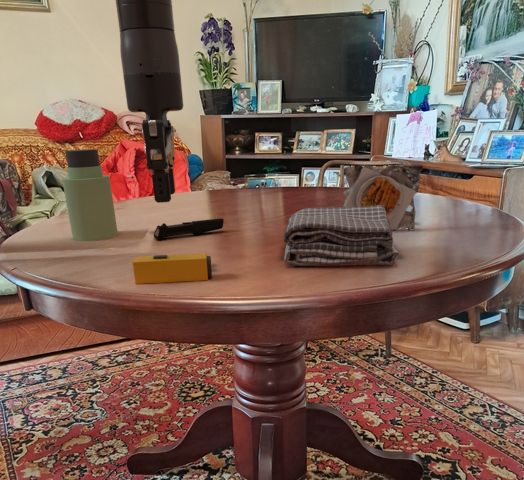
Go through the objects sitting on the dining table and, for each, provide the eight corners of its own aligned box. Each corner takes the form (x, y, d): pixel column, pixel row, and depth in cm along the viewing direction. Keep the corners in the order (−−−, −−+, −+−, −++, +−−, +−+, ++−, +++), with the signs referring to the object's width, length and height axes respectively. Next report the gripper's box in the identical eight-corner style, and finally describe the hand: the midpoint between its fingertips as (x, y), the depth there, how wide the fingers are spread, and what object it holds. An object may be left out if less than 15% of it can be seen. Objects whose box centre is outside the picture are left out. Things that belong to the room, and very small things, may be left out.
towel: (288, 247, 96) (288, 205, 93) (387, 247, 94) (390, 203, 91) (282, 269, 82) (282, 219, 79) (398, 268, 80) (402, 218, 77)
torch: (135, 284, 77) (131, 260, 76) (138, 278, 80) (135, 254, 79) (212, 280, 78) (210, 256, 76) (212, 274, 81) (210, 251, 80)
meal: (344, 234, 105) (346, 167, 100) (341, 230, 109) (343, 166, 104) (417, 232, 105) (423, 165, 100) (411, 228, 109) (417, 163, 104)
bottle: (69, 248, 102) (50, 152, 94) (79, 239, 110) (64, 149, 103) (114, 246, 102) (100, 150, 95) (122, 237, 111) (109, 148, 103)
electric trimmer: (227, 233, 112) (226, 218, 110) (158, 241, 105) (156, 225, 104) (220, 230, 115) (219, 216, 114) (153, 238, 109) (151, 223, 107)
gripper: (131, 77, 74) (145, 193, 81) (113, 67, 61) (132, 206, 68) (183, 76, 75) (193, 191, 81) (176, 65, 62) (189, 203, 68)
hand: (165, 198), depth 74 cm, fingers open, 8 cm apart
